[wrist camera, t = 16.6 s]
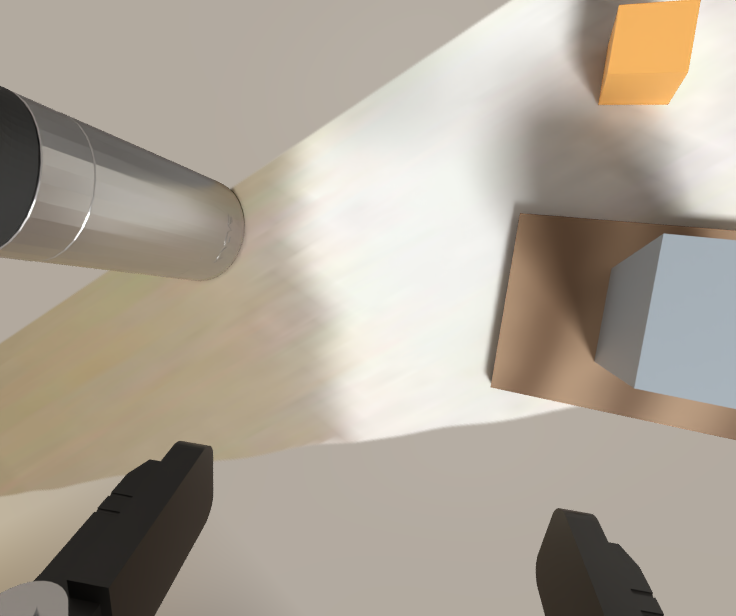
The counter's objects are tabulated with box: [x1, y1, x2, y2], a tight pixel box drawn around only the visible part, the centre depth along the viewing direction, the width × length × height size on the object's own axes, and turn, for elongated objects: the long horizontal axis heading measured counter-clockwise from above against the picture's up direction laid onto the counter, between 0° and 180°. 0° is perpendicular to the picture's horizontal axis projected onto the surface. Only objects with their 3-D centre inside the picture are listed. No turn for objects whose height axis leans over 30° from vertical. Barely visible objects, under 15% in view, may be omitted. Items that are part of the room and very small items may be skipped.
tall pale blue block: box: [594, 234, 736, 409], centre depth 22 cm, size 6×6×12 cm
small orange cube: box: [598, 0, 701, 105], centre depth 27 cm, size 4×4×4 cm
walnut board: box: [491, 213, 736, 440], centre depth 28 cm, size 18×12×1 cm, turn 82°
